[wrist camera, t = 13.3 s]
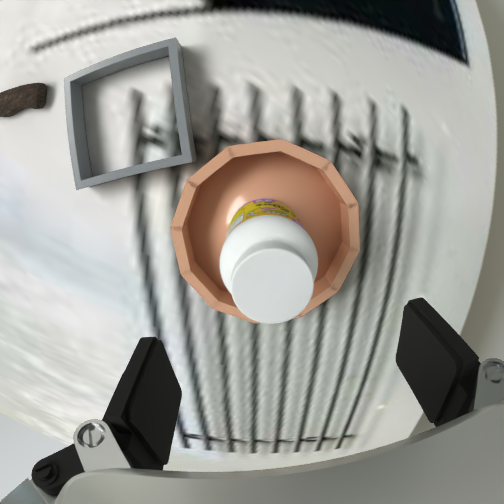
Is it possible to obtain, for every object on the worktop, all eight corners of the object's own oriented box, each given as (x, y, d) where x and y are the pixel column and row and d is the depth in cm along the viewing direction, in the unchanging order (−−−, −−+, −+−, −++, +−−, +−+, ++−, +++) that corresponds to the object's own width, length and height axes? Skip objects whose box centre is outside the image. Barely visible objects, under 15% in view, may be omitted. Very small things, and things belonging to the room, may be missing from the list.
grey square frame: (75, 81, 23) (64, 78, 21) (181, 46, 23) (175, 37, 20) (88, 186, 27) (76, 190, 25) (197, 161, 27) (192, 161, 24)
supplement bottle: (311, 221, 28) (355, 274, 16) (272, 274, 30) (285, 354, 17) (254, 182, 27) (257, 206, 14) (216, 239, 28) (191, 303, 16)
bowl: (168, 158, 27) (157, 159, 23) (340, 136, 26) (352, 134, 23) (200, 312, 32) (195, 329, 29) (349, 292, 32) (359, 307, 28)
